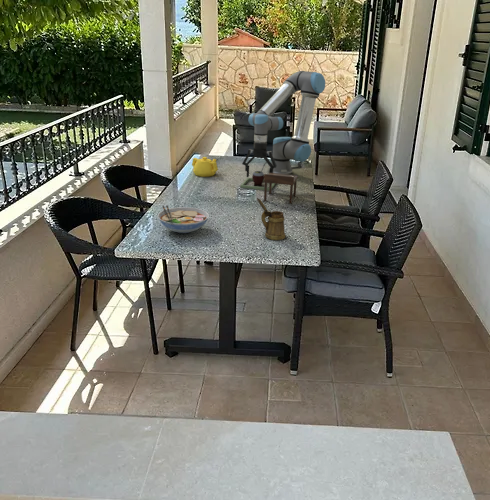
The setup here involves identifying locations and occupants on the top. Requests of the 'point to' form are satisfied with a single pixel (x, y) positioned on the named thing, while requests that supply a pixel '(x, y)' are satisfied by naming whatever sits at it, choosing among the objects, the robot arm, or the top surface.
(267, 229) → the wooden mug
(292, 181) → the stand
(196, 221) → the ramen bowl
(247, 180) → the bottom bay
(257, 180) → the mate gourd
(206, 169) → the teapot
